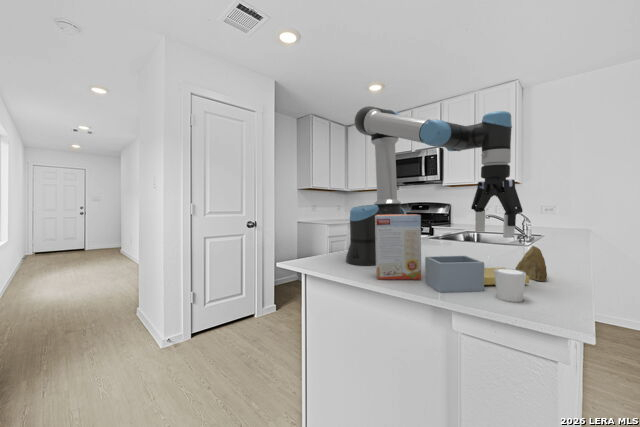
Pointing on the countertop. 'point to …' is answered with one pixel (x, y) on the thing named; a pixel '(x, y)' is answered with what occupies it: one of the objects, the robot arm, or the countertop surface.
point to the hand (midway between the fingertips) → (493, 234)
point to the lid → (490, 276)
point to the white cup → (510, 284)
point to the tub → (454, 273)
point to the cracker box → (398, 246)
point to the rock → (533, 264)
